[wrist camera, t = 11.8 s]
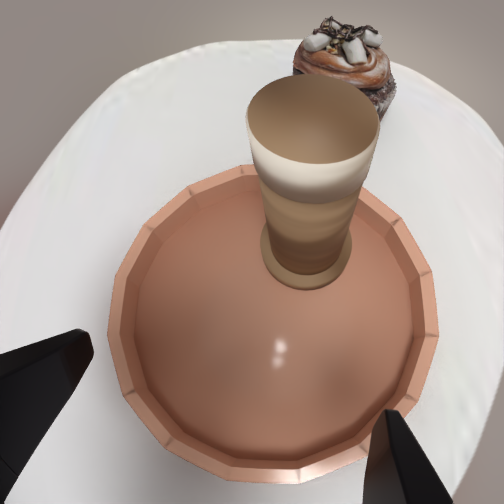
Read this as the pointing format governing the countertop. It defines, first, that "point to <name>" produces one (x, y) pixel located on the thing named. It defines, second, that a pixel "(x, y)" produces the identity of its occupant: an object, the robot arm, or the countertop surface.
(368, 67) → the cupcake
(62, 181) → the countertop surface
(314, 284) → the tan flared cylinder
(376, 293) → the tray
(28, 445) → the robot arm
